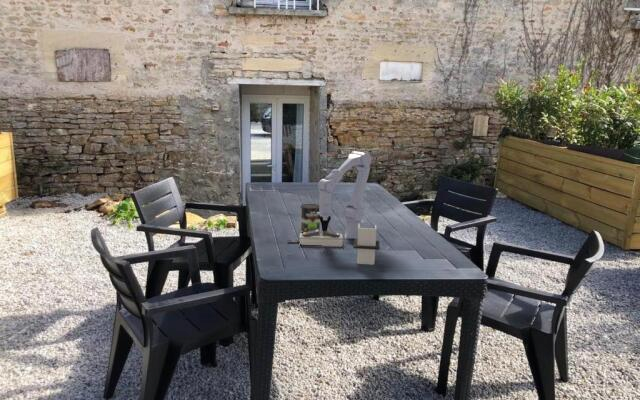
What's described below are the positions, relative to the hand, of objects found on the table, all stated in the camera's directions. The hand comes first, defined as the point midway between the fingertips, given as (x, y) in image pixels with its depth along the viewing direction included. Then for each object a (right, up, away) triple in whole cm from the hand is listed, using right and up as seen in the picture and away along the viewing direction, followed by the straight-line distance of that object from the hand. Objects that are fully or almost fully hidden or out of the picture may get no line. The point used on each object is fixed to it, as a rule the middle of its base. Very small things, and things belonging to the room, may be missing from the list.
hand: (324, 230), depth 230 cm
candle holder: (+18, -12, -23) cm, 32 cm away
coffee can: (-7, -2, +21) cm, 22 cm away
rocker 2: (+3, -2, 0) cm, 4 cm away
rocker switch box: (-5, -6, +1) cm, 8 cm away
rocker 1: (-7, -1, 0) cm, 7 cm away
